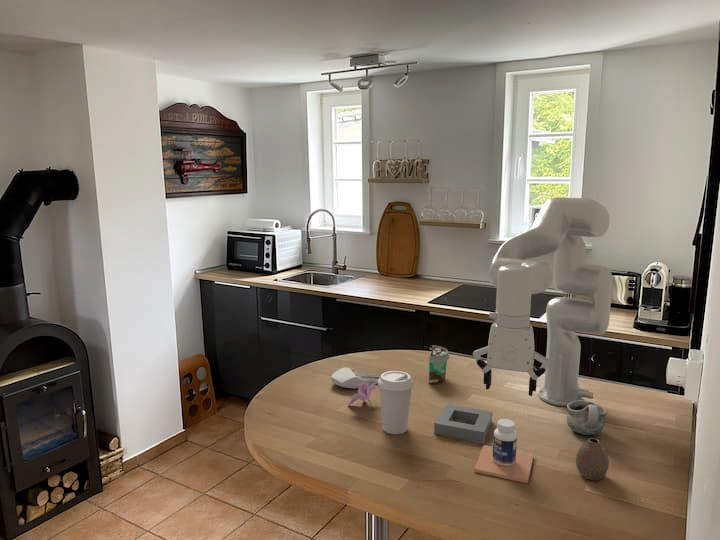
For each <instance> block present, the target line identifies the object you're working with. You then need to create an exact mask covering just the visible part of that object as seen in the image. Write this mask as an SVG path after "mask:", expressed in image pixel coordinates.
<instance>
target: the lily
mask: <svg viewBox="0 0 720 540" xmlns="http://www.w3.org/2000/svg"><path fill="white" fill-rule="evenodd" d="M377 382H378V381H376V382H374V383H373V384H371V385H368V384H367V383H365V382H364V383H362V384H361V385H360V387H359V388H357V389H358V390H357V393H355V394H354V395H353V396H351V397H350V398H349V400H350V401H349V402H348V404H347V407H349V406H351V405H352V404H353V403H355V402H356V401H358V400H361V402H365V401H366V400H367V401H368V402H369V404H370V406H371V409H372V411H373V412H374V411H375V408H374V407H373V405H372V402H371V400H370V397H371V392H372V391H374V390H376V389H378V388H380V386H379V385H378V384H376V383H377Z"/></svg>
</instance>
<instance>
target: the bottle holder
mask: <svg viewBox="0 0 720 540" xmlns="http://www.w3.org/2000/svg"><path fill="white" fill-rule="evenodd" d="M492 422H493V411H491V410H490V411H489V410H483V409H477V408H471V407H466V406H462V405H461V406H460V405H455V404H454V405H453V404H449V403H446V404H445V406H444V408H442V410H441V412H440V413H439V415H438V417H437V418H436V420H435V422H434V423H433V425H434V428H433V429H434V431H433V432H434V433H433V434H434V435H440V436H446V437H450V438H455V439H461V440H465V441H470V442H475V443H481V444H484V443H485V440H486V439H487V435H488V433H489V430H490V428H491V425H492Z"/></svg>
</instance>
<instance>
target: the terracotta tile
mask: <svg viewBox="0 0 720 540" xmlns="http://www.w3.org/2000/svg"><path fill="white" fill-rule="evenodd" d="M492 454H493V446H491V445H485V444H484V445H483V446H482V449H481V451H480V454H479V456H478V459H477V461H476V463H475V466H474V468H473V472H474V473H478V474H483V475H487V476H490V477H491V476H492V477H497V478H501V479H505V480H506V479H507V480H510V481H516V482H520V483H525V484H528V483H529V479H530V475H531V470H532V465H533V460H534V454H530V453H526V452H522V451H521V452H520V451H517V450H516V461H515V463H514V464H513V465H511V466H502V465H499V464H497V463H495V462H494V461H493V459H492Z"/></svg>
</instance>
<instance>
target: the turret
mask: <svg viewBox="0 0 720 540" xmlns="http://www.w3.org/2000/svg"><path fill="white" fill-rule="evenodd" d="M381 375H382V374H378V373H377V374H375V373H364V372H363V373H362V372H361V373H360V372H357V371H355V370H353V369H351V368H349V367H342V368H339V369H338V370H336V371H333V372H332V375H331V377H330V381H331V383H333V384H334V385H337V386H338V387H341V388H348V389H359V387H360V385H361V384H362V383H364V382H365V383H367V384H368V385H369V386H370V385H371V384H373V383H374V382H376V381H378V380H379V378H380V377H381ZM375 385H378V382H377V383H376V384H375Z"/></svg>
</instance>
